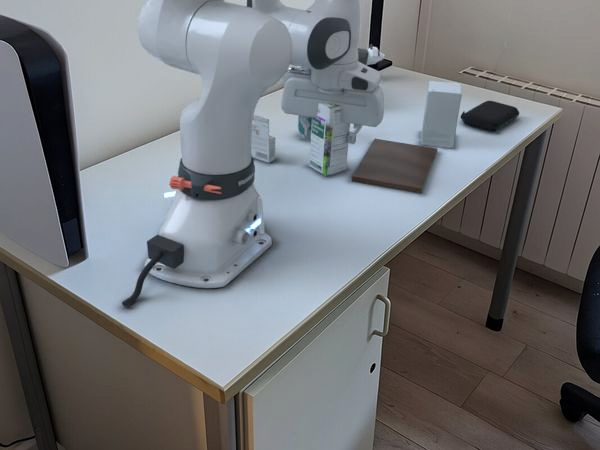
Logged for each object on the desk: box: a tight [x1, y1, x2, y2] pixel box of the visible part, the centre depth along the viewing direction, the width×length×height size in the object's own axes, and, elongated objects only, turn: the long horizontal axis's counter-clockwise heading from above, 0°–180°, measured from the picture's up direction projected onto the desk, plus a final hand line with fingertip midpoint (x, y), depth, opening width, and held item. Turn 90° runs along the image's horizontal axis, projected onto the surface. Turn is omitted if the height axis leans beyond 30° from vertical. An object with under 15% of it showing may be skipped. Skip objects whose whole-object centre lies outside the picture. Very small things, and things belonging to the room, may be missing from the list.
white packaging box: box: [420, 80, 463, 149], centre depth 150 cm, size 7×7×13 cm
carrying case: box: [460, 100, 520, 133], centre depth 164 cm, size 11×3×15 cm
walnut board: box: [351, 138, 439, 195], centre depth 141 cm, size 20×14×1 cm
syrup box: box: [308, 103, 351, 177], centre depth 136 cm, size 6×6×14 cm
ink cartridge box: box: [251, 114, 276, 164], centre depth 141 cm, size 2×11×10 cm, turn 56°
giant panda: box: [357, 43, 386, 66], centre depth 186 cm, size 15×6×10 cm, turn 93°
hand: (330, 139), depth 136 cm, fingers closed on syrup box, 7 cm apart
